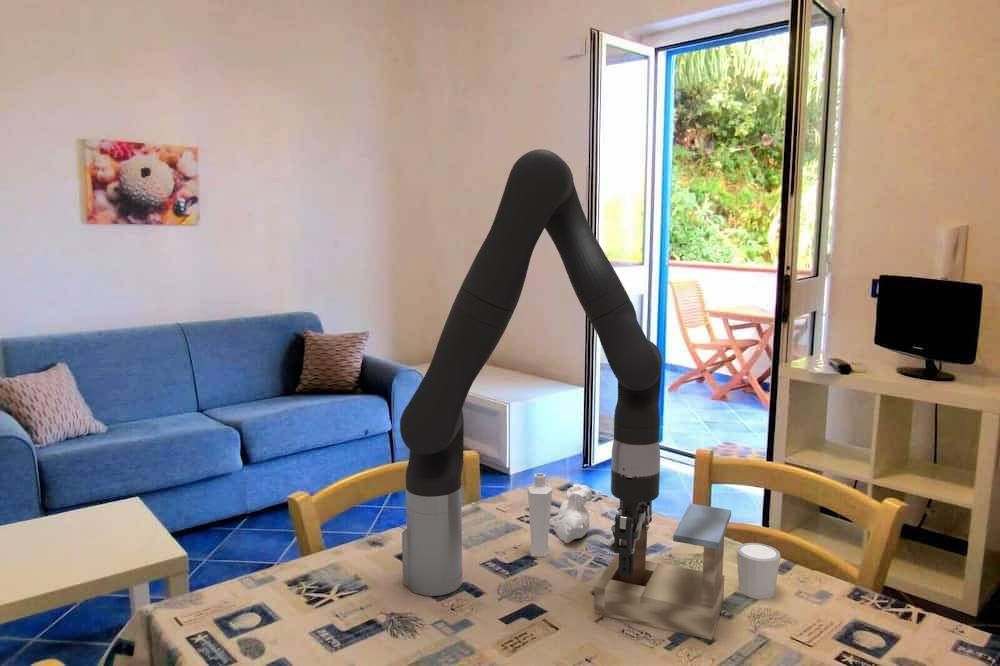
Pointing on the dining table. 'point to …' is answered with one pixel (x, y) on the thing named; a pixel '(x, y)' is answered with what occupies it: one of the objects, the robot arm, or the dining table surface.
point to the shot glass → (757, 570)
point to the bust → (573, 514)
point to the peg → (637, 561)
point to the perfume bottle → (539, 515)
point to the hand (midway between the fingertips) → (632, 563)
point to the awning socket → (673, 582)
